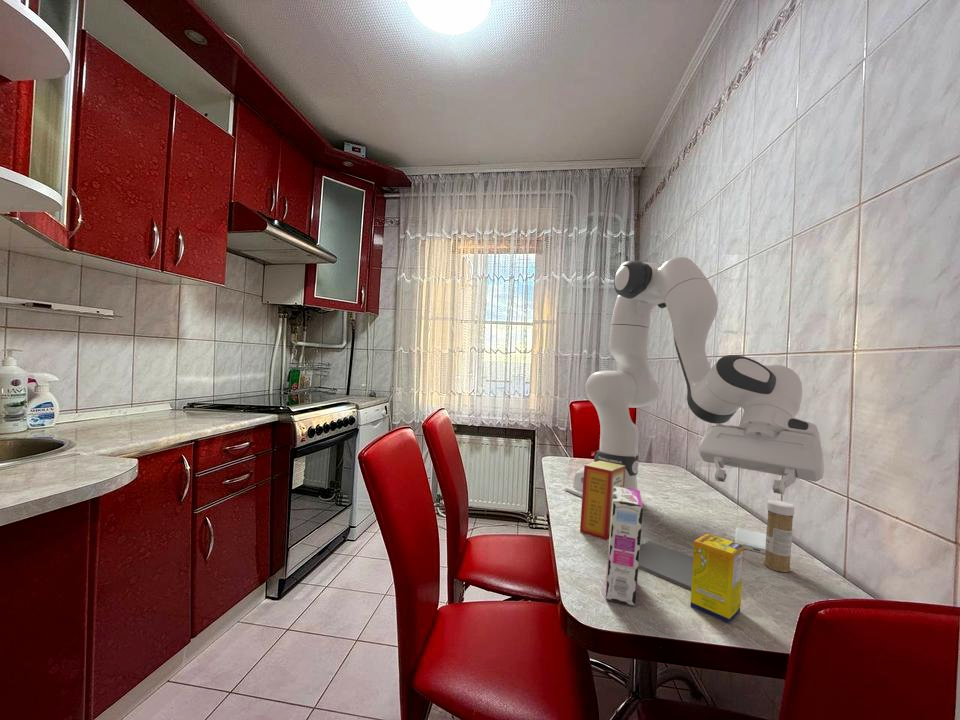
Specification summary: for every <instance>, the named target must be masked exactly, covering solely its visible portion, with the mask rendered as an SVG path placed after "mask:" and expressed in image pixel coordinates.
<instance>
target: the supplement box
mask: <svg viewBox="0 0 960 720" xmlns="http://www.w3.org/2000/svg"><path fill="white" fill-rule="evenodd" d="M744 550H745V549H744V545H743V544H740V543H737V542H735V541H733V540H730V539H727V538H723V537H720V536H717V535H713V534H710V533H705V534H703V535H702V536H700V537H698V538H697V539H695V540H694V541H693V552H692V553H693V554H692V555H693V556H692V557H693V569H692V586H691V590H690V607H691V609H694V610H696V611H699V612H702V613H703V614H706V615H708V616H711V617H712V618H715V619H718V621H722V622H724V623H727V624H730V623H731V622H732V621H733V620H734V619H735V618H736V616H738V614H739V613H740V612H741V605H742V604H741V603H742V588H743V587H742V585H743V565H744Z"/></svg>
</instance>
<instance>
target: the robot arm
mask: <svg viewBox="0 0 960 720" xmlns="http://www.w3.org/2000/svg"><path fill="white" fill-rule="evenodd" d="M613 287H614V290H615V292H616V293H617V297H616V300H615V302H614V303H615V304H614V307H613V310H612V316H611V319H610V320H611V321H610V327H609V329H610V330H609V336H608V337H609V338H608V346H607V348H608V352H609V353H610V355H611V356H613V359H614V360H615V363H616V364H615V365H616V370H607V369H606V370H600V371H596V372H593V373H591V375H589V376H588V378H587V380H586V382H585V387H584V388H585V389H584V390H585V394H586V397H587V399H588V400H589V402H590V403H592V405H593V406H594V408H595V410H596V412H597V416H598V420H599V425H600V428H599V429H600V435H599V437H600V438H599V449H598V450H596V451H591V456H592V457H593V456H594V458H593V460H592V462H597V461H605V462H610V463H615V464H620V465H625V466H626V467H625V483H624V488H630V489H635V490H639V489H638V473H639V464H640V463H639V458H640V457H639V453H638V451H639V450H638V449H639V437H640V436H639V435H640V431H639V428H638V426H637V425H636V424H635V423H634V422H633V420H632V418H631V415H630V409H629V408H633V409H635V408H643V407H647V406H650V405H653V404H654V403H655V402H656V400H657V398H658V396H659V393H660V391H659V385H658V383H657V381H656V380H655V379H654V377H653V375H652V373H651V370H650V367H649V361H648V354H647V353H648V352H647V351H648V340H649V329H650V319H651V313H652V310H654V308H655V307H656V306H658V307H659V308H660V309H664V308H666V310H667V311H668V314H669V319H670V322H671V327H672V333H673V341H674V347H675V349H676V353H677V357H678V361H679V364H680V367H681V370H682V374H683V377H684V380H685V383H686V389H687V391H686V393H687V395H686V402H687V406H688V407H689V409H690V410H691V412H692V413H693V415H695V416H696V417H697V418H698V419H700V420H701V421H704V422H706V423H710V424H714V425H711V426H708V427H707V428H706V430H705V433H704V435H703V437H702V439H701V441H700V442H699V444H698V446H697V451H698V454H699V457H700V458H701V459H702V461H703V462H705V463H711V464H714V465H715V468H716V470H715V473H714V478H715V481H717V482H723V483H726V479H727V477H728V475H727V471H726V469H724V468H725V466H727V467H733V468H738V469H745V470H748V471H749V470H751V471H755V472H761V473H766V474H771V475H777V476H783V477H782V478H781V479H780V480H779V479H774V480H773V484H772V491H773V493H774V494H778V495H783V496H784V495H785V491H786V489H787V488H788V487H790V486H791V485H793V484H795V483H796V481H797V480H804V481H808V482H814V483H815V482H819V481H820V480H822V479H823V477H824V472H825V461H824V455H823V449H822V443H821V441H822V440H821V435H820V432H819V429H818V426H817V425H816V424H814V423H812V422H810V421H806V420H803V419H800V418H796V416H797V414H798V413H799V411H800V406H801V403H802V399H803V383H802V381H801V378H800V376H799V374H798V373H797V372H796V371H795V370H793V369H791V368H790V367H787V366H785V365H781V364H770V365H769V364H767V365H764V364H762V363H760V362H759V361H756V360H755V359H752V358H751V357H750V358H749V357H746V356H743V355H738V354H729V355H724V356H722V357H720V358H719V359H718V360H717V361H716V363H714V365H712V367H711V365H710V362H709V359H708V356H707V354H706V353H707V352H706V343H707V339H708V336H709V333H710V330H711V327H712V326H713V322H714V321H715V318H716V316H717V313H718V307H719V303H718V299H717V295H716V291H715V290H714V288H713V286H712V284H711V283H710V281H709V279H708V278H707V277H706V275H705V273H704V272H703V270H702V269H700V268H699V266H698V265H697V264H696V263H695V262H694V261H693V260H691V259H690V258H689V257H685V256H677V257H673V258H670V259H668V260H667V261H665V262H664V263H658V262H646V261H641V260H629V261H624V262H623V263H621V265H619V267H617V270H616V271H615V274H614V276H613ZM740 408H742V409H743V414H742V416H741V419H740V421H739V425H738V426H737V425H736V426H735V425H726V424H724V423H727V422H728V421H730V420H731V419H732V417H733V416H734V415H735V413H737V411H738V410H739V409H740ZM592 462H590V463H592ZM583 480H584V466H583V467H581V468H579V469H578V470H577V471H576V472H575V475H574V477H573V482H572V483H569V484H567V485H566V486H565V488H564V489H565V491H566V492H568V493H571V494H573V495H576V496H578V497H580V498H582V494H583Z"/></svg>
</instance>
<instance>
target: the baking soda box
mask: <svg viewBox="0 0 960 720" xmlns="http://www.w3.org/2000/svg"><path fill="white" fill-rule="evenodd" d="M583 467H584V480H583V494H582V497H581V511H580V514H581V515H580V527H579V532H580V533H581V534H582V533H583V534H585V535H589V536H592V537H595V538H599V539H601V540H604V541H609V535H610V522H611V510H612V498H613V488H614V486H616V487H623V488H624V483H625V467H626V466H625V465H620V464H615V463H610V462H605V461H597V462H593V461H592V463H591V462H589V463H587V464H585V465H584V466H583Z"/></svg>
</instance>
